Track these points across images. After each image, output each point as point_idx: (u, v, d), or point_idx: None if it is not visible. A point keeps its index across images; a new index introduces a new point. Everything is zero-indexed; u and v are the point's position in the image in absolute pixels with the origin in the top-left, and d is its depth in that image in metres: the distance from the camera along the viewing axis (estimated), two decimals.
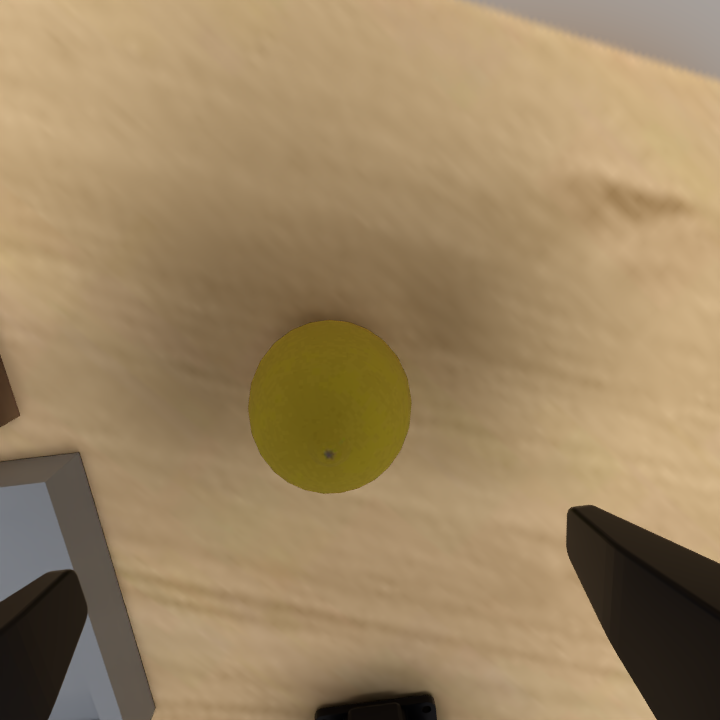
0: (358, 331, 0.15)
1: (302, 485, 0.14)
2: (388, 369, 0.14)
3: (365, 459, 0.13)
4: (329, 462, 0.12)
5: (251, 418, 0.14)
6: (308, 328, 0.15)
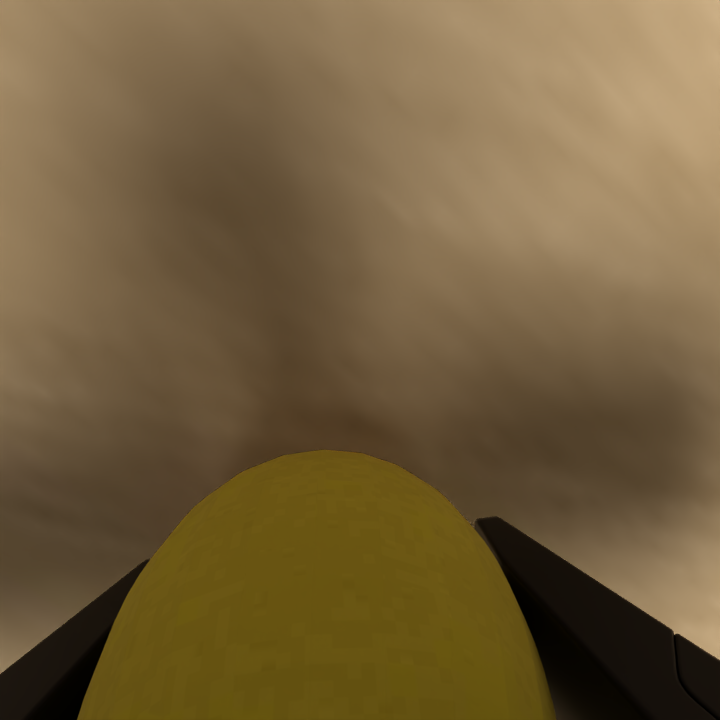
0: (404, 531, 0.05)
1: None
2: (519, 716, 0.04)
3: None
4: None
5: None
6: (255, 524, 0.05)
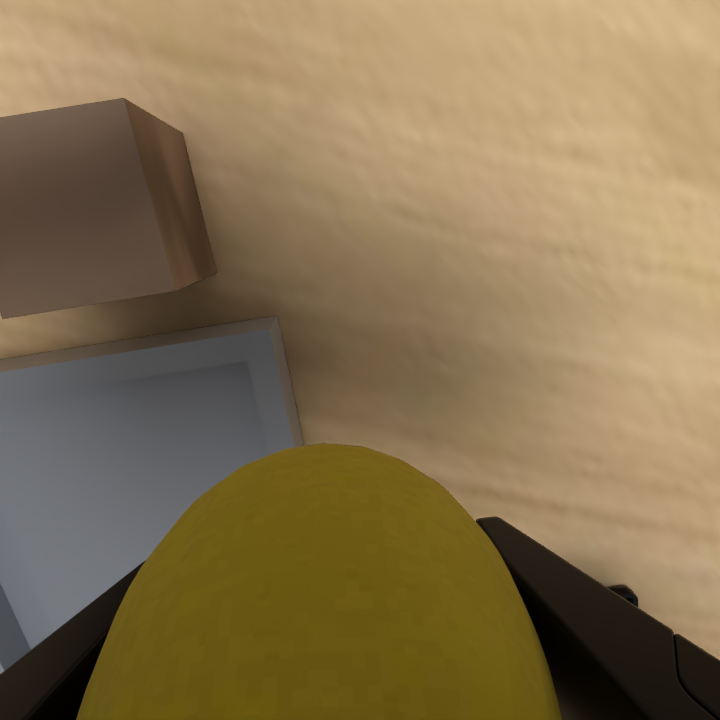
0: (407, 522, 0.05)
1: None
2: (524, 705, 0.04)
3: None
4: None
5: None
6: (257, 516, 0.05)
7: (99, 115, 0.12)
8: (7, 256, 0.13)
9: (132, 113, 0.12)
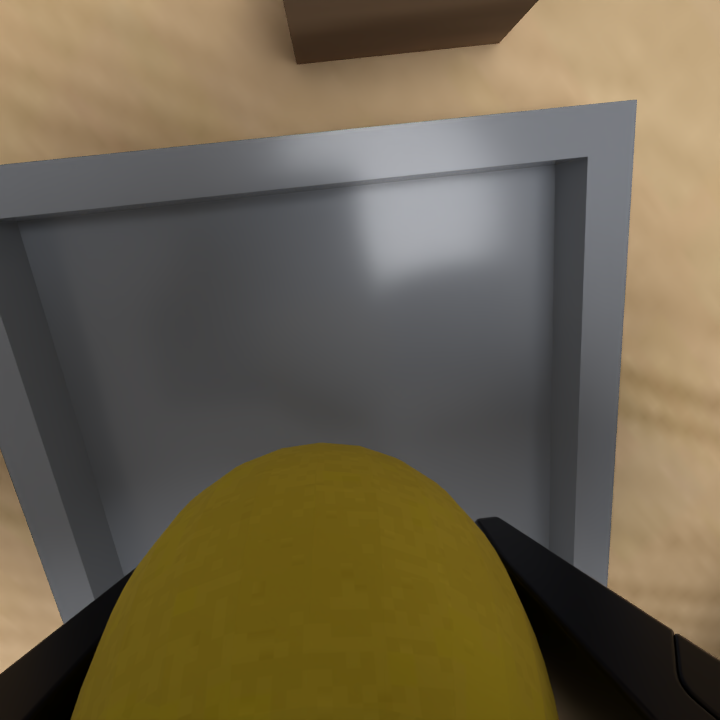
0: (403, 522, 0.05)
1: None
2: (520, 705, 0.04)
3: None
4: None
5: None
6: (253, 515, 0.05)
7: None
8: None
9: None
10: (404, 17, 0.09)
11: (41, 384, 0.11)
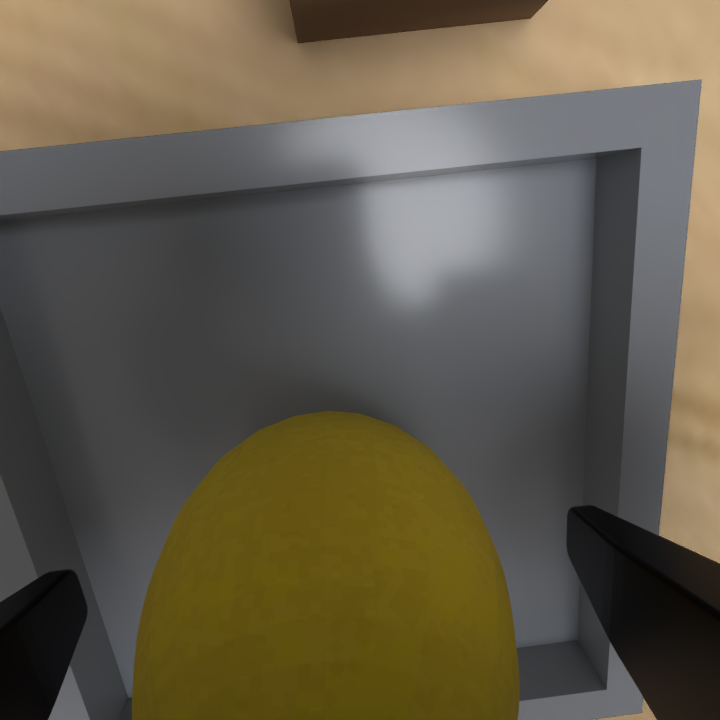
0: (394, 464, 0.07)
1: None
2: (477, 588, 0.06)
3: None
4: None
5: (132, 707, 0.06)
6: (278, 459, 0.06)
7: None
8: None
9: None
10: None
11: (2, 412, 0.10)
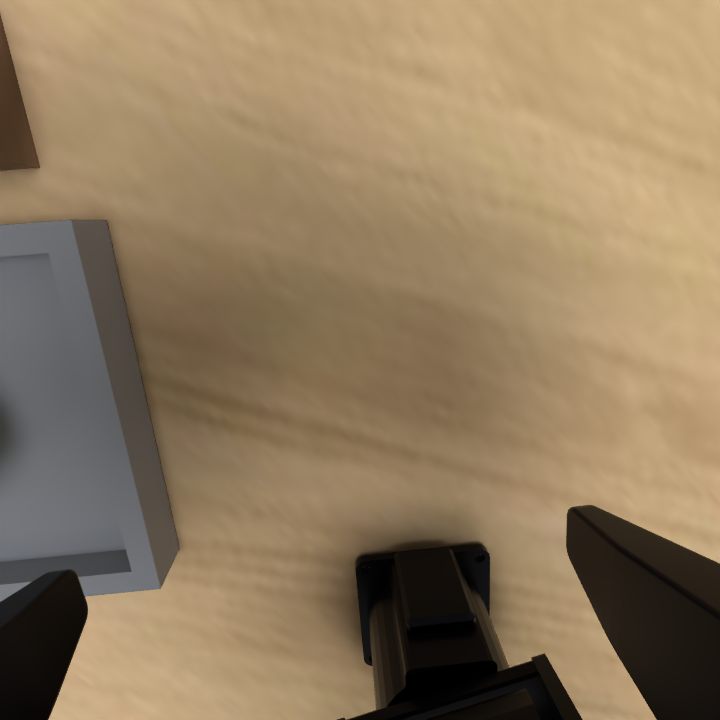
0: None
1: None
2: None
3: None
4: None
5: None
6: None
7: None
8: None
9: None
10: None
11: None
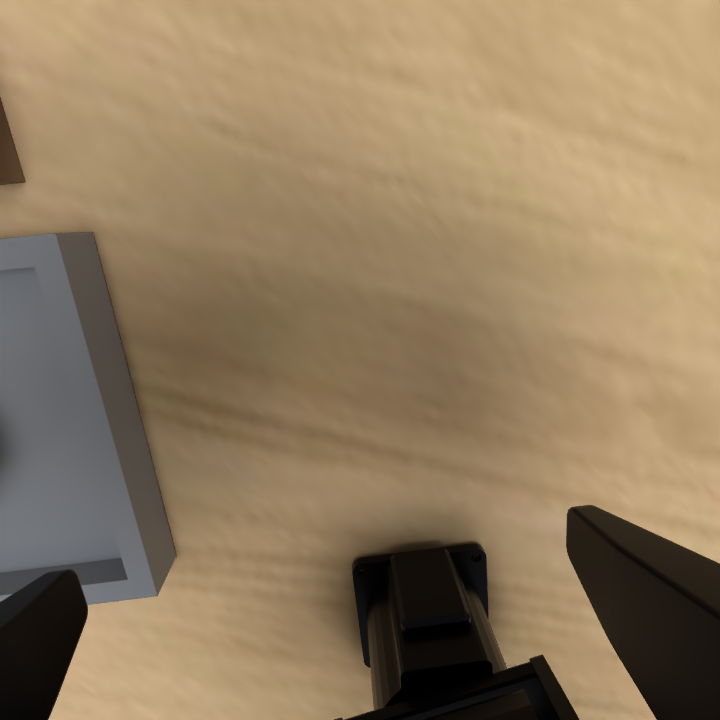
0: None
1: None
2: None
3: None
4: None
5: None
6: None
7: None
8: None
9: None
10: None
11: None
